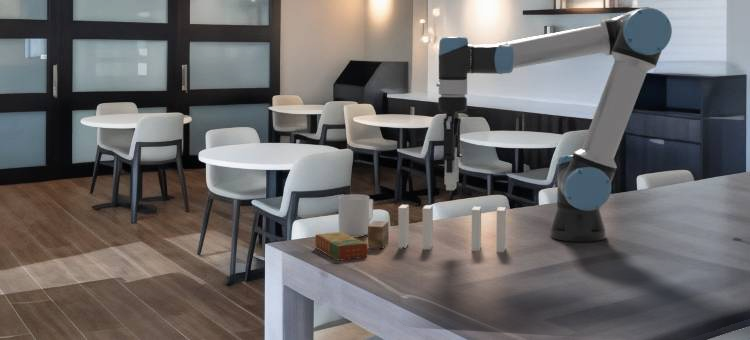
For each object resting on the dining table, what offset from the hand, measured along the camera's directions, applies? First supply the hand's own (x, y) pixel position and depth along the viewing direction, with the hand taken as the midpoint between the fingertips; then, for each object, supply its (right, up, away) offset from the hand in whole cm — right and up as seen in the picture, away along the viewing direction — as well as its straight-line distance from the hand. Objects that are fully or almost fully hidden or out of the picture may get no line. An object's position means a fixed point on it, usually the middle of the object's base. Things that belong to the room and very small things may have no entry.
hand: (451, 182), depth 232 cm
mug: (-25, -15, +19) cm, 35 cm away
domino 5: (+13, -18, -4) cm, 22 cm away
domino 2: (-6, -17, 0) cm, 18 cm away
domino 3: (0, -2, 0) cm, 2 cm away
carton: (-29, -19, -5) cm, 35 cm away
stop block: (-20, -17, +3) cm, 26 cm away
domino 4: (+6, -17, -2) cm, 19 cm away
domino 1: (-13, -17, +2) cm, 21 cm away
